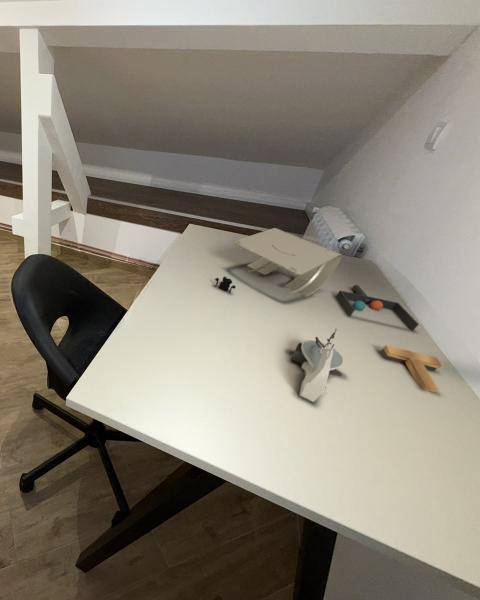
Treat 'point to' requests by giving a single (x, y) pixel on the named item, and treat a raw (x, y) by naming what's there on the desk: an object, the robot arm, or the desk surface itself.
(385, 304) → the dark flat angular piece
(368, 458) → the desk surface
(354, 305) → the teal ball
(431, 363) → the wooden t-shaped block
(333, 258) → the laptop stand
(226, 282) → the wireless earbuds
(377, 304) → the terracotta ball
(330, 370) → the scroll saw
